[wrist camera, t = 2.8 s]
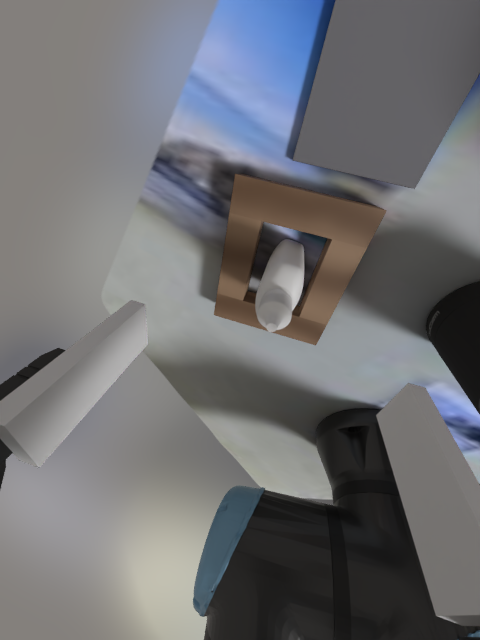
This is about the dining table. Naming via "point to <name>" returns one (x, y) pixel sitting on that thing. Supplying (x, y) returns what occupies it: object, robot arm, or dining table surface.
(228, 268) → the bottle holder
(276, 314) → the eye dropper bottle
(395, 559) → the robot arm
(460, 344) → the pen holder
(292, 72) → the dining table surface
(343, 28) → the rubber mat
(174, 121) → the dining table surface
